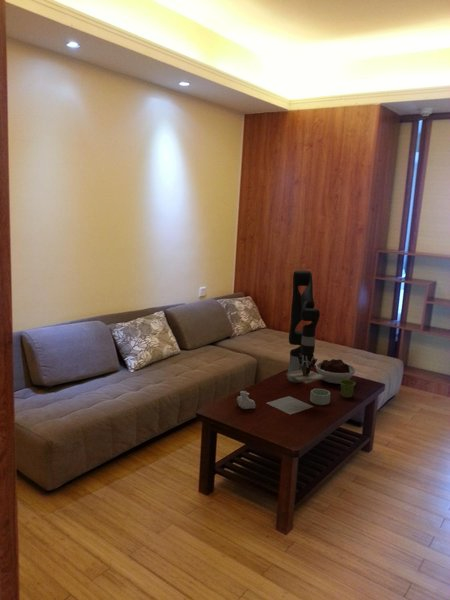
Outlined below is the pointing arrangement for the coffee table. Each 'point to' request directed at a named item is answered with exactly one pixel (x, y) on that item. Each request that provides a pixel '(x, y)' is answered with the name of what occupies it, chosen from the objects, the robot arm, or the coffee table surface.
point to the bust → (245, 401)
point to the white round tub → (335, 370)
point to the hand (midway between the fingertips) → (305, 372)
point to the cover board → (301, 377)
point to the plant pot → (347, 388)
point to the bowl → (320, 396)
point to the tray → (289, 405)
